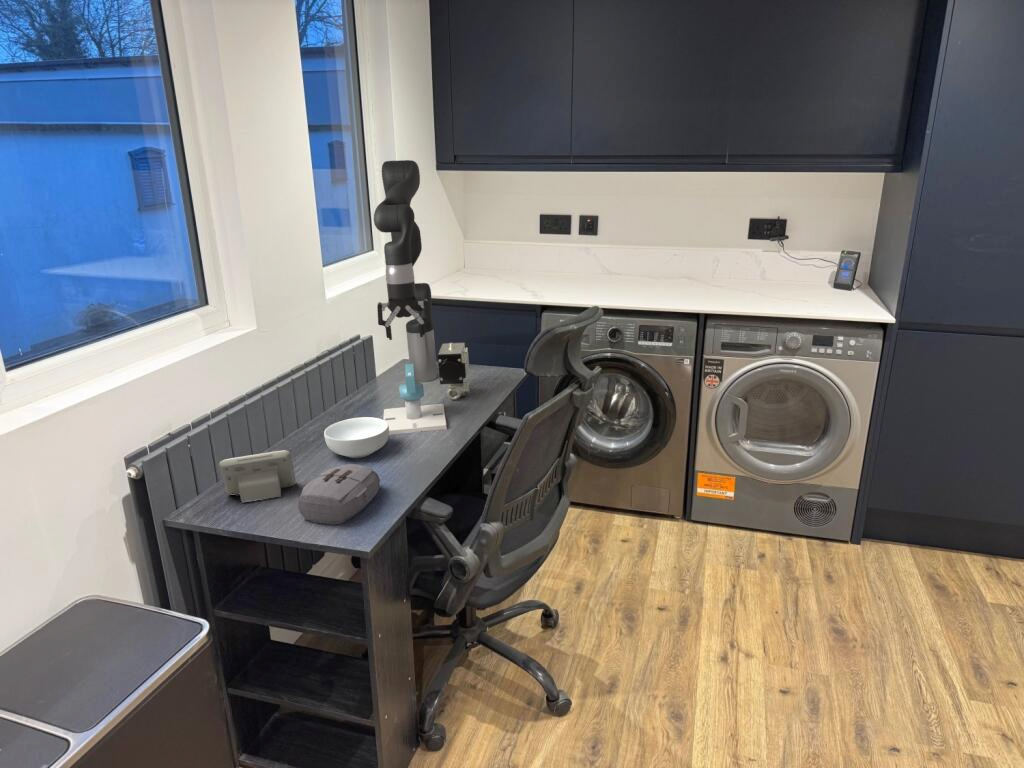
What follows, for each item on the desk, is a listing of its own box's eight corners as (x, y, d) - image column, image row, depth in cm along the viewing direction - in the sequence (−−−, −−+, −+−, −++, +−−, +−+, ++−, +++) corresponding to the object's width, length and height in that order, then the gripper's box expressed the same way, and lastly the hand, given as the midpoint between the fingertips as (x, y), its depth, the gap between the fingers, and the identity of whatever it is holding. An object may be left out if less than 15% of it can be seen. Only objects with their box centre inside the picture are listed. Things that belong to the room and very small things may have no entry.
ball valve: (468, 405, 221) (464, 350, 215) (440, 406, 221) (436, 351, 215) (472, 386, 238) (468, 335, 232) (447, 387, 238) (443, 336, 232)
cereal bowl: (401, 441, 197) (398, 417, 194) (374, 467, 181) (371, 442, 179) (345, 437, 201) (342, 414, 199) (315, 462, 186) (311, 437, 184)
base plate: (384, 412, 218) (381, 389, 216) (443, 407, 220) (441, 384, 218) (382, 435, 201) (380, 410, 199) (446, 429, 204) (444, 404, 201)
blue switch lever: (400, 390, 214) (397, 363, 211) (423, 388, 214) (421, 361, 212) (399, 404, 202) (397, 376, 200) (424, 401, 203) (422, 374, 200)
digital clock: (299, 482, 175) (293, 443, 172) (292, 500, 167) (285, 458, 163) (232, 488, 174) (224, 448, 171) (221, 506, 166) (212, 464, 162)
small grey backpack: (350, 530, 153) (393, 487, 171) (345, 495, 150) (390, 456, 168) (290, 521, 158) (338, 481, 175) (284, 487, 155) (334, 450, 173)
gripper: (426, 276, 198) (431, 332, 203) (374, 279, 196) (380, 336, 201) (427, 280, 191) (432, 339, 196) (373, 284, 189) (379, 343, 194)
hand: (406, 338), depth 199 cm, fingers open, 8 cm apart
